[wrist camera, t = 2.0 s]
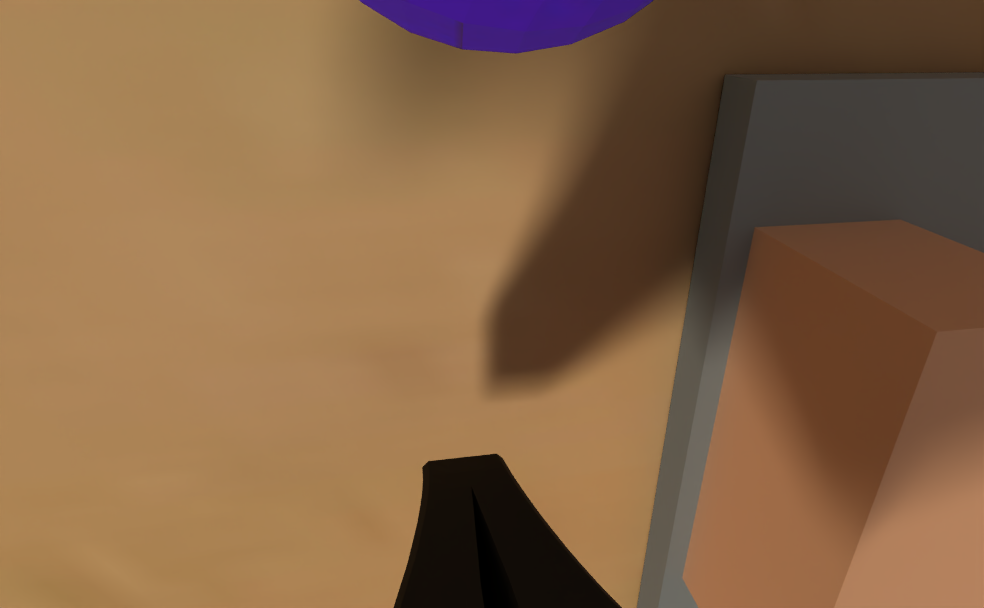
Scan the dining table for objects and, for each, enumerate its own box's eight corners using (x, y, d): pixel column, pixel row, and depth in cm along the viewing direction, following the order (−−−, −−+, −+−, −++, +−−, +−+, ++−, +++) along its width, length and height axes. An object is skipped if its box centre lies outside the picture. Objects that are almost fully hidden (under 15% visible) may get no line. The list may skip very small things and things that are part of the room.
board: (1082, 618, 21) (1113, 644, 20) (621, 702, 19) (633, 737, 18) (1435, 68, 13) (1511, 73, 13) (724, 74, 11) (756, 80, 10)
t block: (682, 577, 15) (778, 755, 11) (754, 226, 11) (937, 331, 7) (995, 530, 16) (1167, 675, 13) (1157, 205, 12) (1471, 284, 9)
